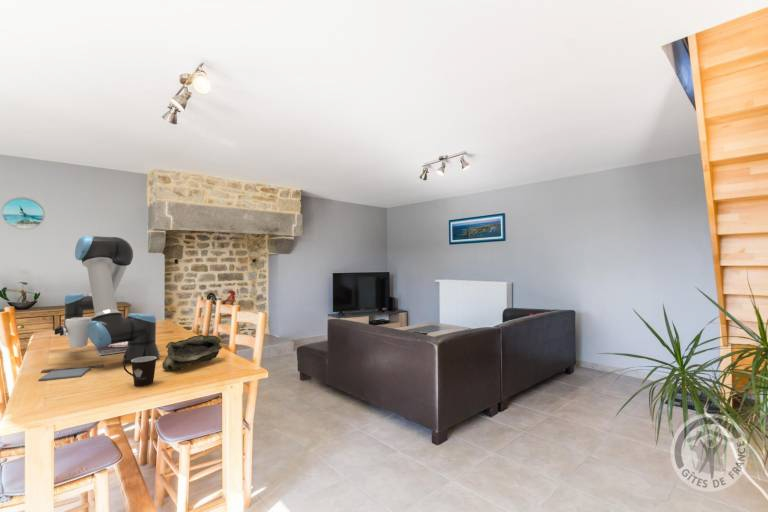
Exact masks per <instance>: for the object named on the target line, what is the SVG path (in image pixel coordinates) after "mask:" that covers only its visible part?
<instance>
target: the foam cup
mask: <svg viewBox="0 0 768 512" xmlns="http://www.w3.org/2000/svg"><path fill="white" fill-rule="evenodd" d="M64 321H65V325H66V328H67V333H66V335H67V338H68V345H69V348H70V349H75V348H76V349H77V348H83V347H87V346H88V343H89V336H88V332H87V330H88V328H87V327H88V324H89V323H90V322H91V321H92V317H91V316H89V317H87V316H86V317H85V316H83V317H81V318H71V319H66V320H65V319H64Z"/></svg>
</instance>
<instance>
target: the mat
mask: <svg viewBox="0 0 768 512" xmlns="http://www.w3.org/2000/svg"><path fill="white" fill-rule="evenodd" d="M91 369H92V368H91V367H90V368H79V369H68V370H58V371H51V372H48V373H45V375H43V376H42V377H40V378H38V382H46V381H55V380H64V379H74V378H81V377H83V376H84V375H85V374H86V373H88V372H89V371H90V370H91Z"/></svg>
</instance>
